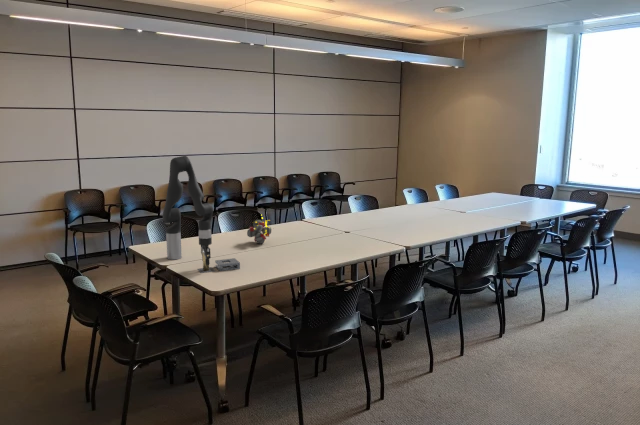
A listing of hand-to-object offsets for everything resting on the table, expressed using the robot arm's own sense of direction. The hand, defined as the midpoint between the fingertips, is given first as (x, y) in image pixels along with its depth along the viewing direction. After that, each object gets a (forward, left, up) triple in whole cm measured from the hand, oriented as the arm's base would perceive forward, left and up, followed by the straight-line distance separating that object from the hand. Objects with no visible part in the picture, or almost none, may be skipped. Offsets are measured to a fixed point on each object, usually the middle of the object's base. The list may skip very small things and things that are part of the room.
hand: (205, 262), depth 304 cm
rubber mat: (0, 0, -5) cm, 5 cm away
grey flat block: (0, +12, -5) cm, 13 cm away
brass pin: (0, 0, -4) cm, 4 cm away
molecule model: (-53, +53, -5) cm, 75 cm away
